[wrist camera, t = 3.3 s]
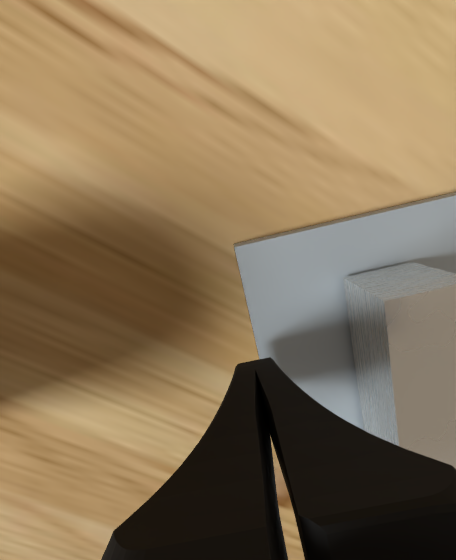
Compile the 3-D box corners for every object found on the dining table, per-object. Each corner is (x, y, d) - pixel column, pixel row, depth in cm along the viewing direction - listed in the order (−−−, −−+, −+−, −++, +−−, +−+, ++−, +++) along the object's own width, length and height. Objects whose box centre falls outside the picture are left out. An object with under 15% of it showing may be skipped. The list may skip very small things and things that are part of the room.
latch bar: (441, 500, 13) (510, 593, 10) (364, 515, 13) (409, 611, 10) (425, 258, 10) (515, 280, 7) (329, 280, 11) (375, 311, 7)
